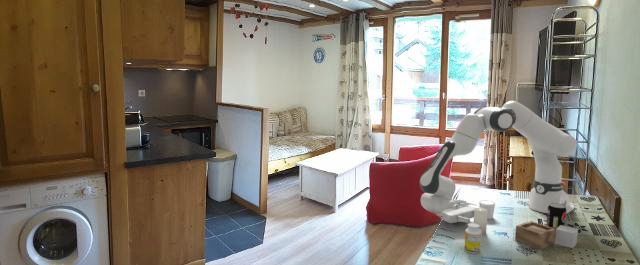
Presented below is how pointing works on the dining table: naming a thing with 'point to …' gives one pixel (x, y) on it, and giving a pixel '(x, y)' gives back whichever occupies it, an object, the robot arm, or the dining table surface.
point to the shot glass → (488, 207)
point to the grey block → (566, 236)
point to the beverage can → (556, 215)
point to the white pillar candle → (481, 219)
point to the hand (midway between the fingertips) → (476, 219)
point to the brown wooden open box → (535, 234)
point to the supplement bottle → (473, 238)
